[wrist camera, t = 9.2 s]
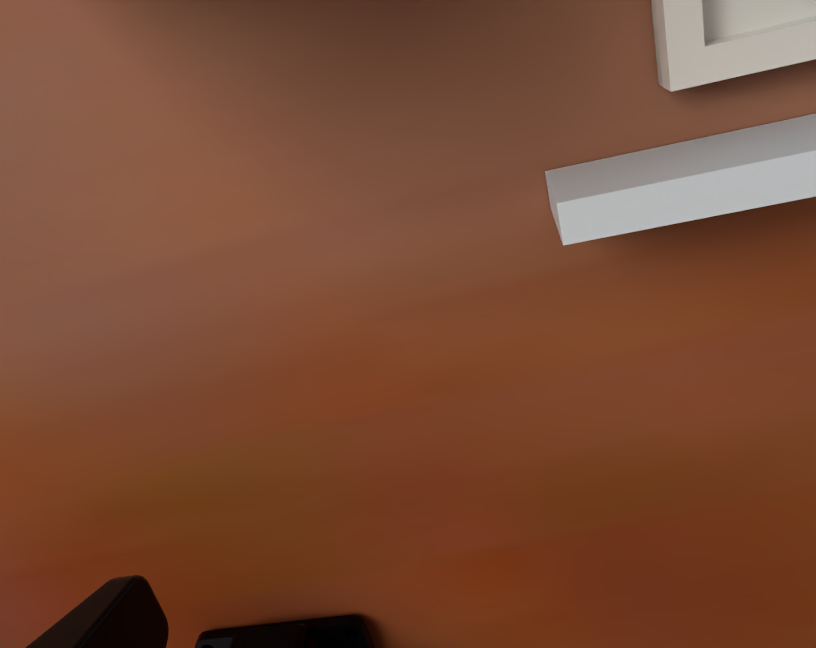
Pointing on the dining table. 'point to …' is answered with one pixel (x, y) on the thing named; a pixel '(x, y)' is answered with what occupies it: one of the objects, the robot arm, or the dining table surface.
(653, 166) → the wall
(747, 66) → the coaster
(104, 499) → the dining table surface
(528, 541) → the dining table surface
